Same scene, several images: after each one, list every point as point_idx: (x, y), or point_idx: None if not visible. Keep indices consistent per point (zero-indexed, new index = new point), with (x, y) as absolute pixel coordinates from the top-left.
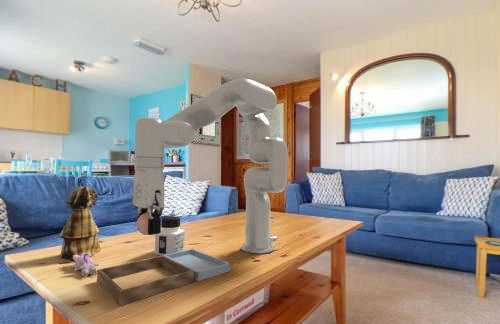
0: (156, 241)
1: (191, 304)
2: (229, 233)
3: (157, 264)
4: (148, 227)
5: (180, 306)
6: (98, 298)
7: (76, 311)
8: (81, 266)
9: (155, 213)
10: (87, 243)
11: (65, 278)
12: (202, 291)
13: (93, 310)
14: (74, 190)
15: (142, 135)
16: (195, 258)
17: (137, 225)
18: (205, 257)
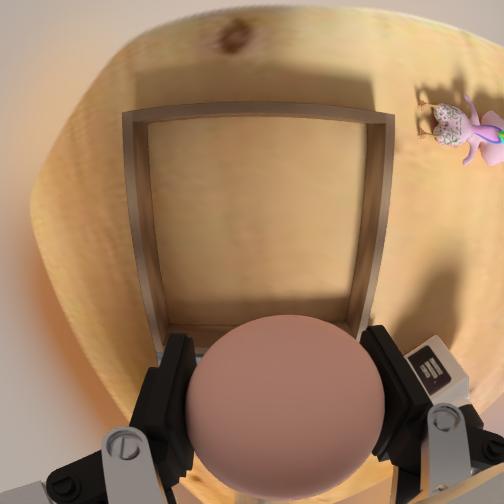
0: (451, 361)
1: (57, 263)
2: (386, 471)
3: (351, 312)
4: (165, 367)
5: (58, 240)
6: (233, 75)
7: (189, 20)
8: (477, 120)
9: (61, 471)
10: None
11: (449, 72)
12: (101, 315)
13: (162, 53)
14: None
15: None
16: None
17: (295, 332)
18: None
